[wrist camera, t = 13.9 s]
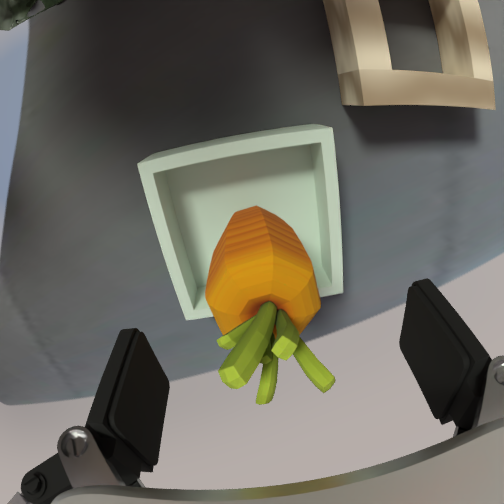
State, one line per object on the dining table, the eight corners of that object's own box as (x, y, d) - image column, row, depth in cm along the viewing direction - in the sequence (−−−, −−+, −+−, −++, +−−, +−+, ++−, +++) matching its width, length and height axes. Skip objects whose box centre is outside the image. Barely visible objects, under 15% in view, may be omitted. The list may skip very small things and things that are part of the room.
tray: (153, 153, 20) (137, 163, 17) (315, 123, 20) (332, 127, 17) (191, 290, 26) (186, 320, 22) (328, 266, 25) (343, 292, 22)
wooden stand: (312, -38, 14) (327, -60, 11) (441, -19, 14) (468, -29, 10) (342, 104, 20) (364, 105, 16) (464, 105, 19) (495, 109, 16)
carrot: (299, 218, 22) (382, 383, 9) (246, 259, 24) (264, 443, 10) (255, 166, 20) (301, 295, 7) (201, 212, 22) (160, 385, 8)
